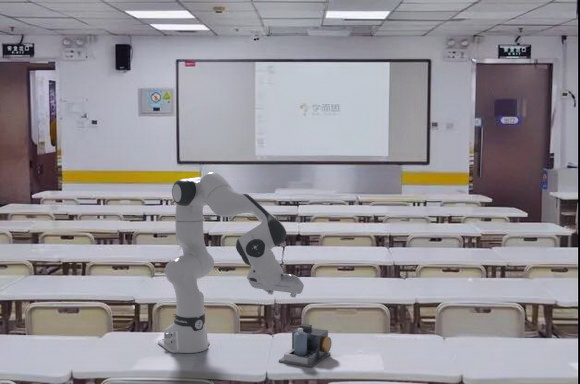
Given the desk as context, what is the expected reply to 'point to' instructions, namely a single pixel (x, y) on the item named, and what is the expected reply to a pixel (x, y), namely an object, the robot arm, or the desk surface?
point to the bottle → (300, 343)
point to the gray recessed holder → (310, 347)
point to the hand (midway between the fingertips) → (282, 294)
